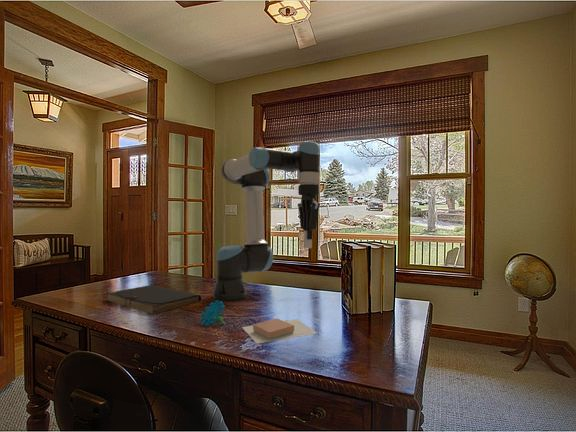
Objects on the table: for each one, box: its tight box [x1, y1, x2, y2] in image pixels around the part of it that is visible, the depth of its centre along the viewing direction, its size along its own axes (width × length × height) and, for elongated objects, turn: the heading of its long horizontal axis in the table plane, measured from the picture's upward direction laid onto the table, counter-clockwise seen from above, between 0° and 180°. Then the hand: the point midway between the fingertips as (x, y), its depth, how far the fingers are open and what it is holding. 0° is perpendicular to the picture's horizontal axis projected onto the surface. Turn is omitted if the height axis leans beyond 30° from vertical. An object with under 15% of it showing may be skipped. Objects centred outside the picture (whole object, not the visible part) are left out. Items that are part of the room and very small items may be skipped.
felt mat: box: [241, 319, 318, 344], centre depth 109 cm, size 15×21×1 cm
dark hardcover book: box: [106, 284, 202, 315], centre depth 143 cm, size 33×4×24 cm
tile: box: [252, 318, 294, 340], centre depth 107 cm, size 2×9×10 cm
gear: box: [199, 299, 227, 327], centre depth 116 cm, size 11×6×10 cm
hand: (307, 248), depth 121 cm, fingers closed
